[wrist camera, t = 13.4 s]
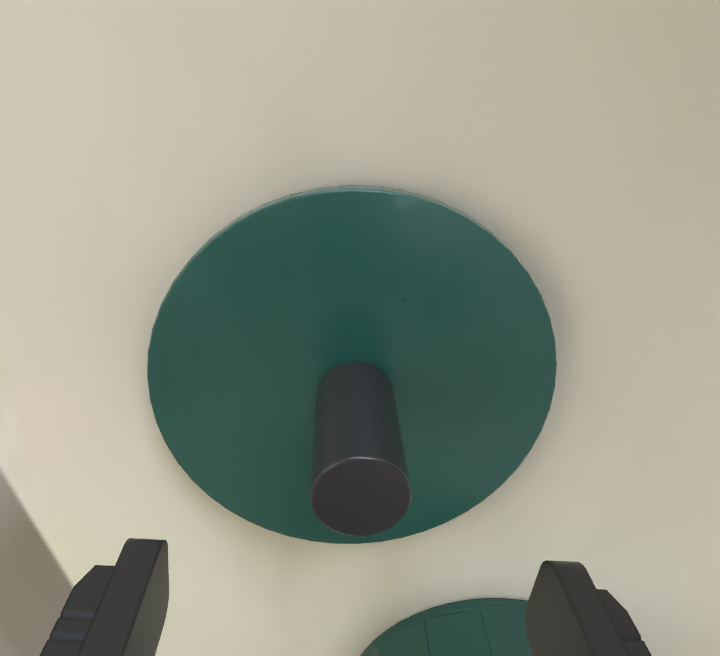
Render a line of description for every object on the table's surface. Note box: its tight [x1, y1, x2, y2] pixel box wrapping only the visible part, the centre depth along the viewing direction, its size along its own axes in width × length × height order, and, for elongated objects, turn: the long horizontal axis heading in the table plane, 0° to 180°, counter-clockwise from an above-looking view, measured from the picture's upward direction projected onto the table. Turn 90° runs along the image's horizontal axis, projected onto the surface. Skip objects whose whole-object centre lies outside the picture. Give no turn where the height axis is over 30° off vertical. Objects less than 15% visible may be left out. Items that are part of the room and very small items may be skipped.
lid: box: [147, 185, 556, 544], centre depth 17 cm, size 14×14×6 cm
